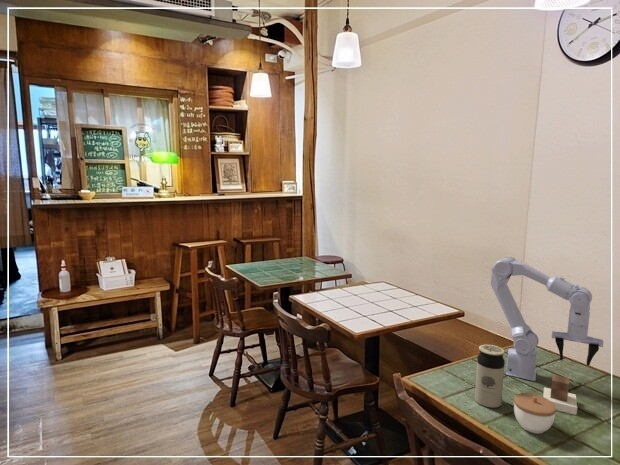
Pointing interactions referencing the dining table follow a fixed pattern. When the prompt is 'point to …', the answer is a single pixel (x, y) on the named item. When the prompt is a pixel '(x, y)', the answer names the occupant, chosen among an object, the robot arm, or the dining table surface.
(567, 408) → the cream tile block
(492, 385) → the travel mug
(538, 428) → the lidded jar
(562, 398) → the walnut block
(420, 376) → the dining table surface
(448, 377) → the dining table surface
